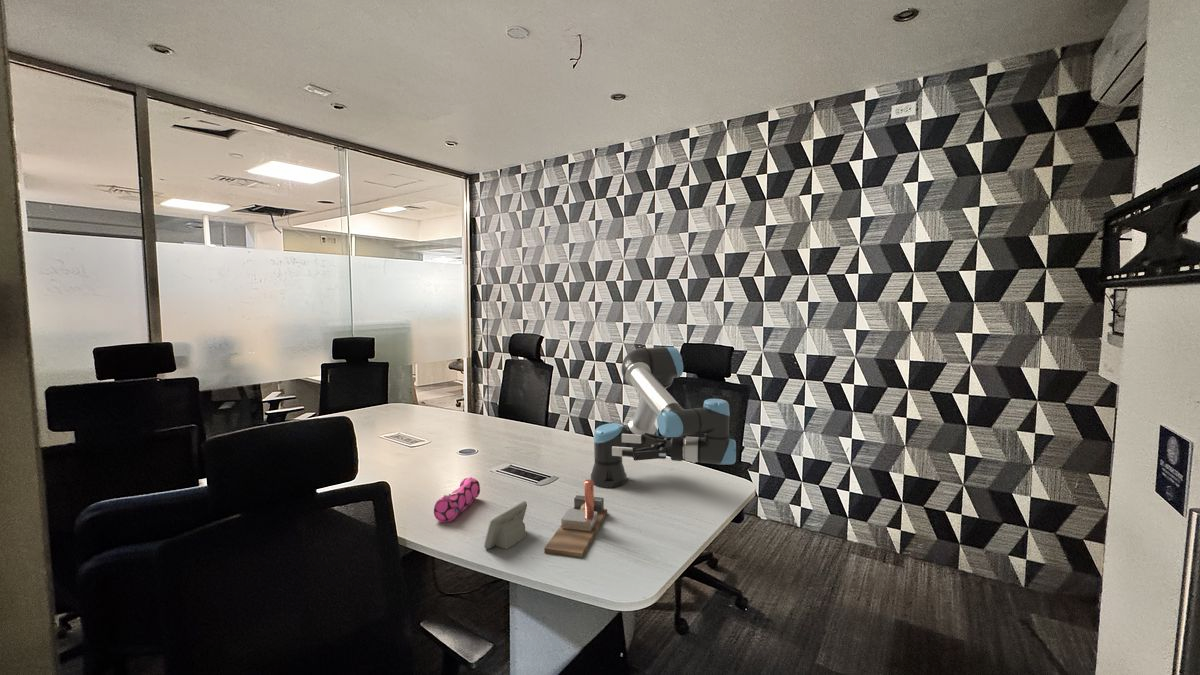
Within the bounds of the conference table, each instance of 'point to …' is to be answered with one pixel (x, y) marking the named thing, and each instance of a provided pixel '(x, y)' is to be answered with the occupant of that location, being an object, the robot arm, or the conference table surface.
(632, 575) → the conference table surface
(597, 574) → the conference table surface
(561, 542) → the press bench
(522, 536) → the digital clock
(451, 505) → the pencil case
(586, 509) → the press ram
